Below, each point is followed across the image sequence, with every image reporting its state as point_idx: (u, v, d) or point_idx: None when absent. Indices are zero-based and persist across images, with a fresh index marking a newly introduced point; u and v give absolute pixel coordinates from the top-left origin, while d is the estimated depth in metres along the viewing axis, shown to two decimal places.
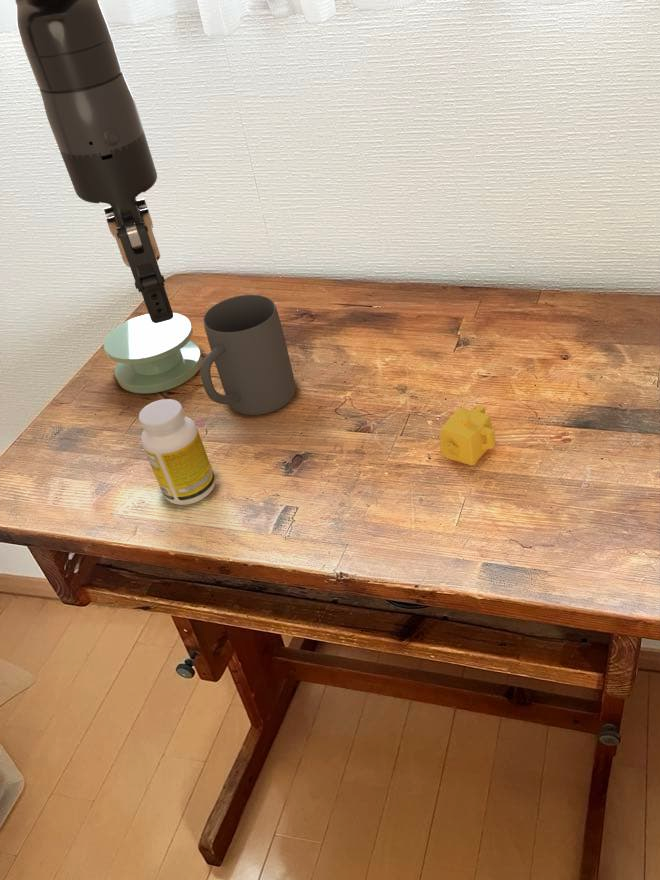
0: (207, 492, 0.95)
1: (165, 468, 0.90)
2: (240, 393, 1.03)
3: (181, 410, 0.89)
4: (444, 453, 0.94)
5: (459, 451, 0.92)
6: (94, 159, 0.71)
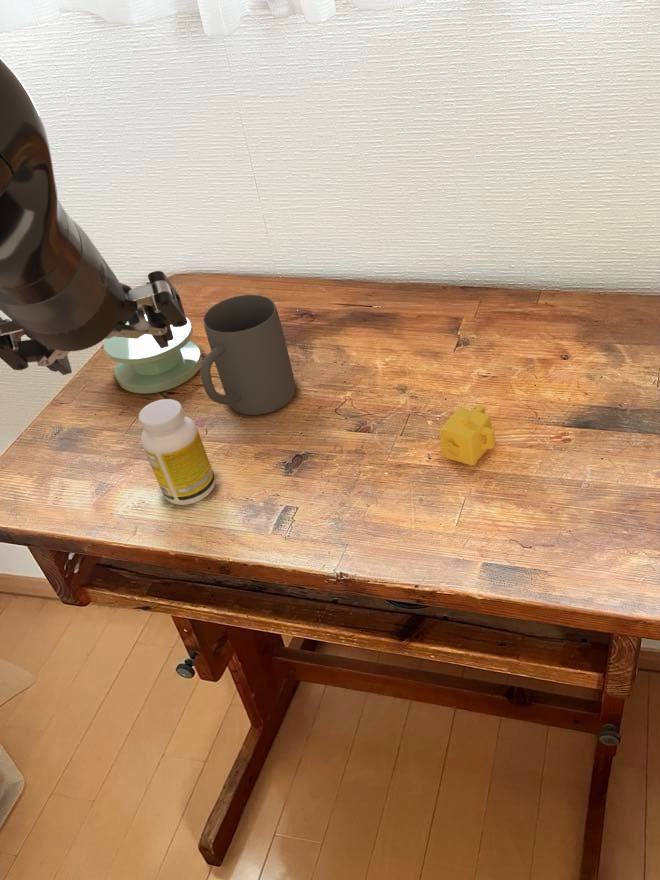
0: (207, 492, 0.95)
1: (165, 468, 0.90)
2: (240, 393, 1.03)
3: (181, 410, 0.89)
4: (444, 453, 0.94)
5: (459, 451, 0.92)
6: None
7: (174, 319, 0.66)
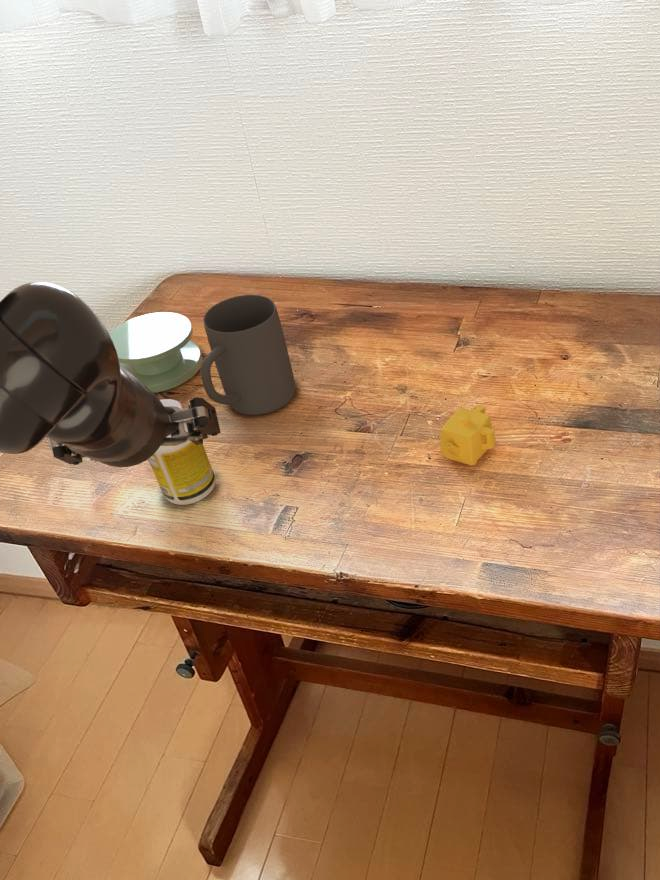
0: (207, 492, 0.95)
1: (165, 468, 0.90)
2: (240, 393, 1.03)
3: (181, 410, 0.89)
4: (444, 453, 0.94)
5: (459, 451, 0.92)
6: None
7: (209, 432, 0.77)
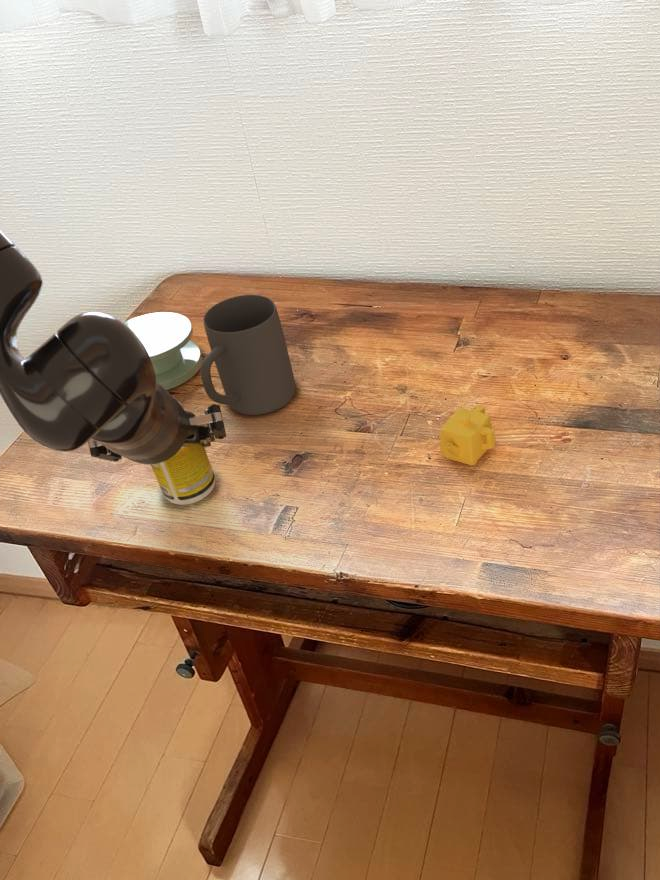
0: (207, 492, 0.95)
1: (166, 468, 0.90)
2: (240, 393, 1.03)
3: None
4: (444, 453, 0.94)
5: (459, 451, 0.92)
6: None
7: (219, 435, 0.88)
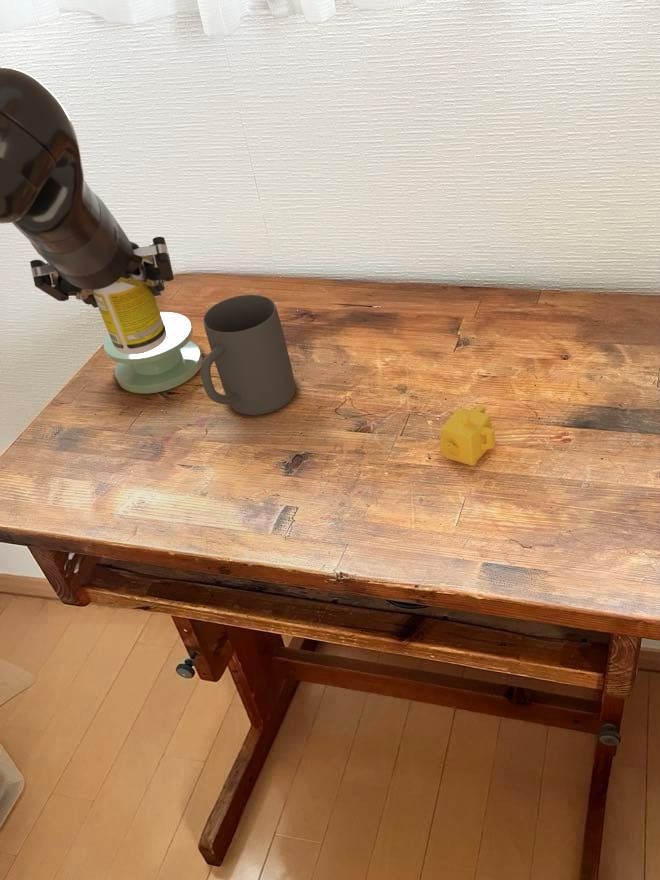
0: (157, 342, 0.95)
1: (113, 311, 0.91)
2: (240, 393, 1.03)
3: None
4: (444, 453, 0.94)
5: (459, 451, 0.92)
6: None
7: (165, 274, 0.88)
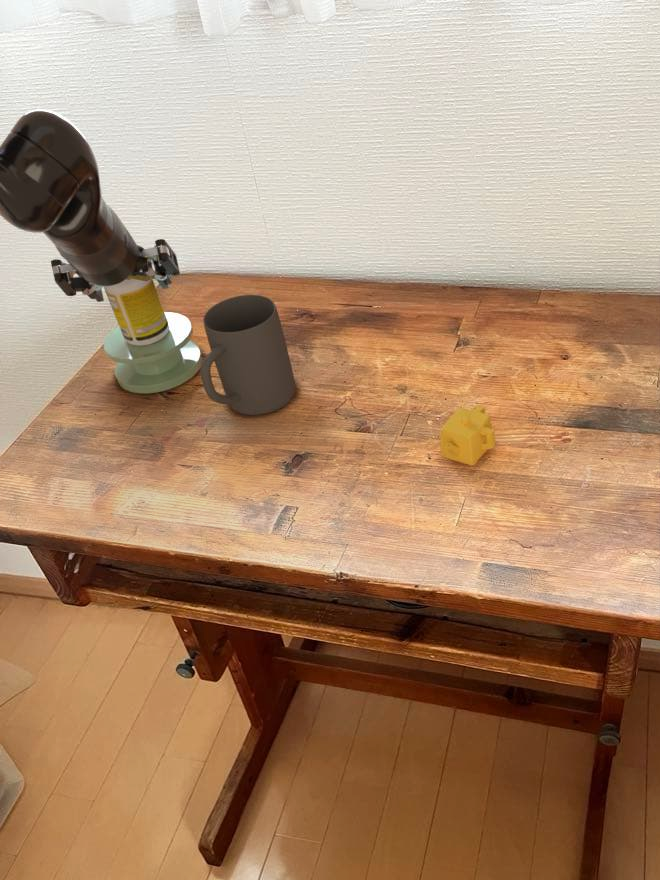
0: (161, 335, 1.10)
1: (124, 308, 1.06)
2: (240, 393, 1.03)
3: None
4: (444, 453, 0.94)
5: (459, 451, 0.92)
6: None
7: (171, 270, 1.03)
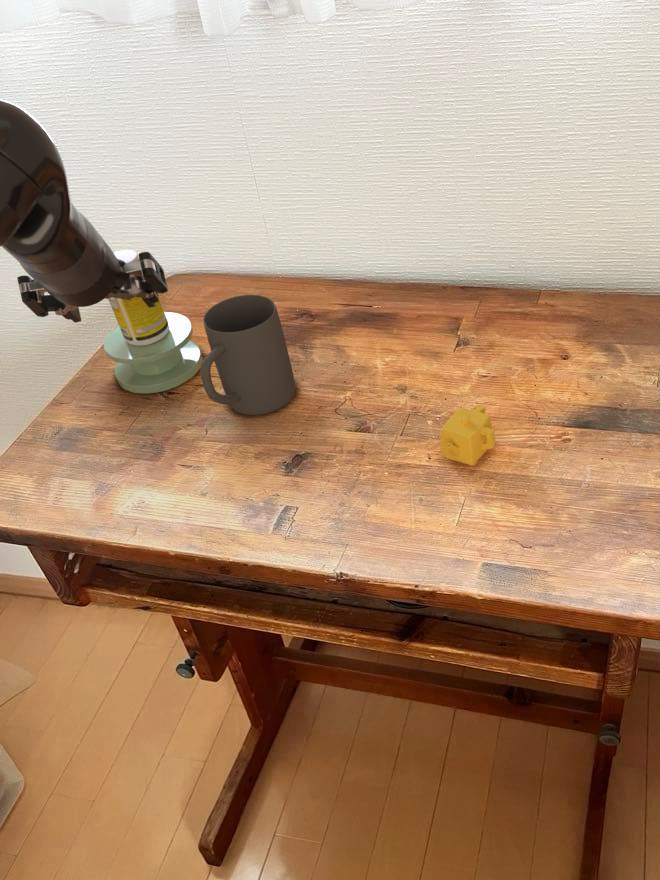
0: (161, 335, 1.10)
1: (124, 308, 1.06)
2: (240, 393, 1.03)
3: (137, 257, 1.05)
4: (444, 453, 0.94)
5: (459, 451, 0.92)
6: None
7: (157, 287, 0.89)
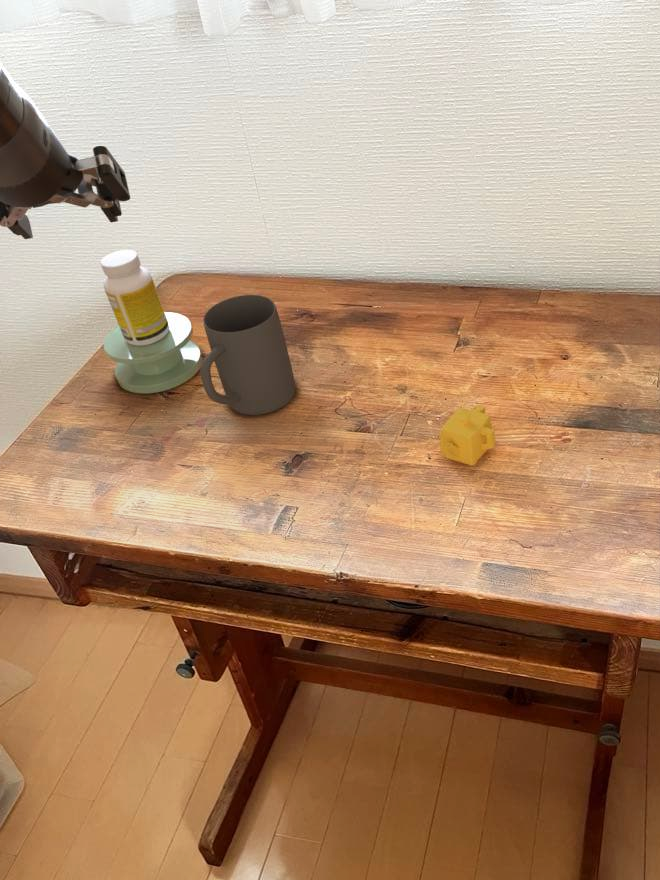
0: (161, 335, 1.10)
1: (124, 308, 1.06)
2: (240, 393, 1.03)
3: (137, 257, 1.05)
4: (444, 453, 0.94)
5: (459, 451, 0.92)
6: None
7: (117, 192, 0.77)
